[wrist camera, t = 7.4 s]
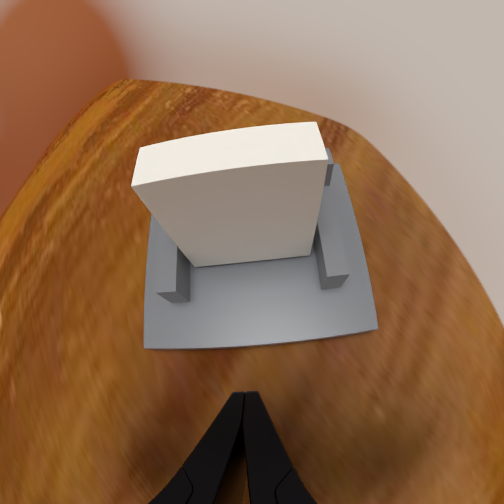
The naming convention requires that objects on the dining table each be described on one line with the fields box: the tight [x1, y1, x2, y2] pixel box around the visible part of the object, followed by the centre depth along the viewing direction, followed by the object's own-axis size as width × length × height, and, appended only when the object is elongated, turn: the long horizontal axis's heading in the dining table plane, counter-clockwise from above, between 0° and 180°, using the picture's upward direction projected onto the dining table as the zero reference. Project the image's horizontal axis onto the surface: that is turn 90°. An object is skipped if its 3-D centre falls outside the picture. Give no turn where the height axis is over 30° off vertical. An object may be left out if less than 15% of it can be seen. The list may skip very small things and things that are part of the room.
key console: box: [144, 148, 378, 350], centre depth 16 cm, size 12×14×6 cm
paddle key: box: [131, 122, 328, 267], centre depth 13 cm, size 2×7×8 cm, turn 94°
